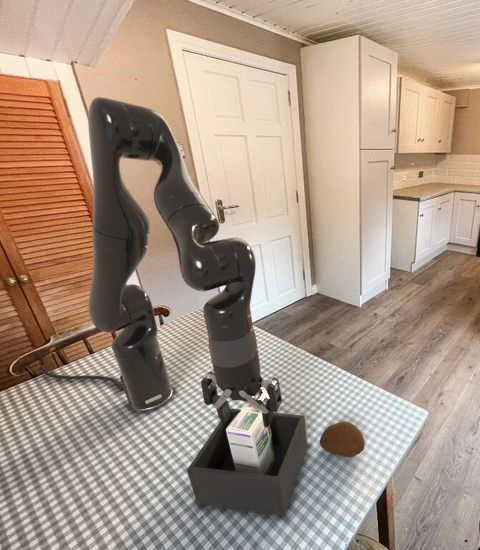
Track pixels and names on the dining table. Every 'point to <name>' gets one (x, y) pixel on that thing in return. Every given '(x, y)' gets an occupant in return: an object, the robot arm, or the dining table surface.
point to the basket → (246, 486)
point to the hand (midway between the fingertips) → (247, 421)
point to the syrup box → (251, 442)
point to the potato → (342, 439)
